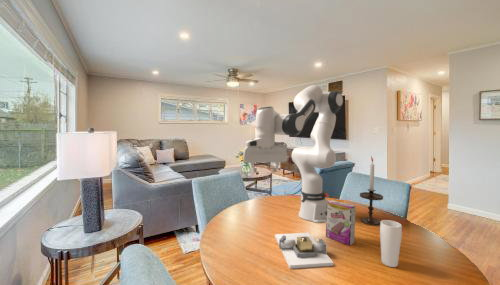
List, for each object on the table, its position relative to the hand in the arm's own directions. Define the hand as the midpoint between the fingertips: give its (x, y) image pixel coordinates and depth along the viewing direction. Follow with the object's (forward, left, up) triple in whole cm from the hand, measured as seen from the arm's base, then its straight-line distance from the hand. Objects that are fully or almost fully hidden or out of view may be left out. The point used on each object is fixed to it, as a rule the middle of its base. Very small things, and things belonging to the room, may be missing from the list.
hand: (264, 172), depth 106 cm
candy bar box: (-32, +10, -29) cm, 45 cm away
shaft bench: (-12, +16, -29) cm, 35 cm away
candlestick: (-58, -7, -29) cm, 65 cm away
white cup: (-41, +29, -29) cm, 58 cm away
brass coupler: (-12, +20, -28) cm, 36 cm away
